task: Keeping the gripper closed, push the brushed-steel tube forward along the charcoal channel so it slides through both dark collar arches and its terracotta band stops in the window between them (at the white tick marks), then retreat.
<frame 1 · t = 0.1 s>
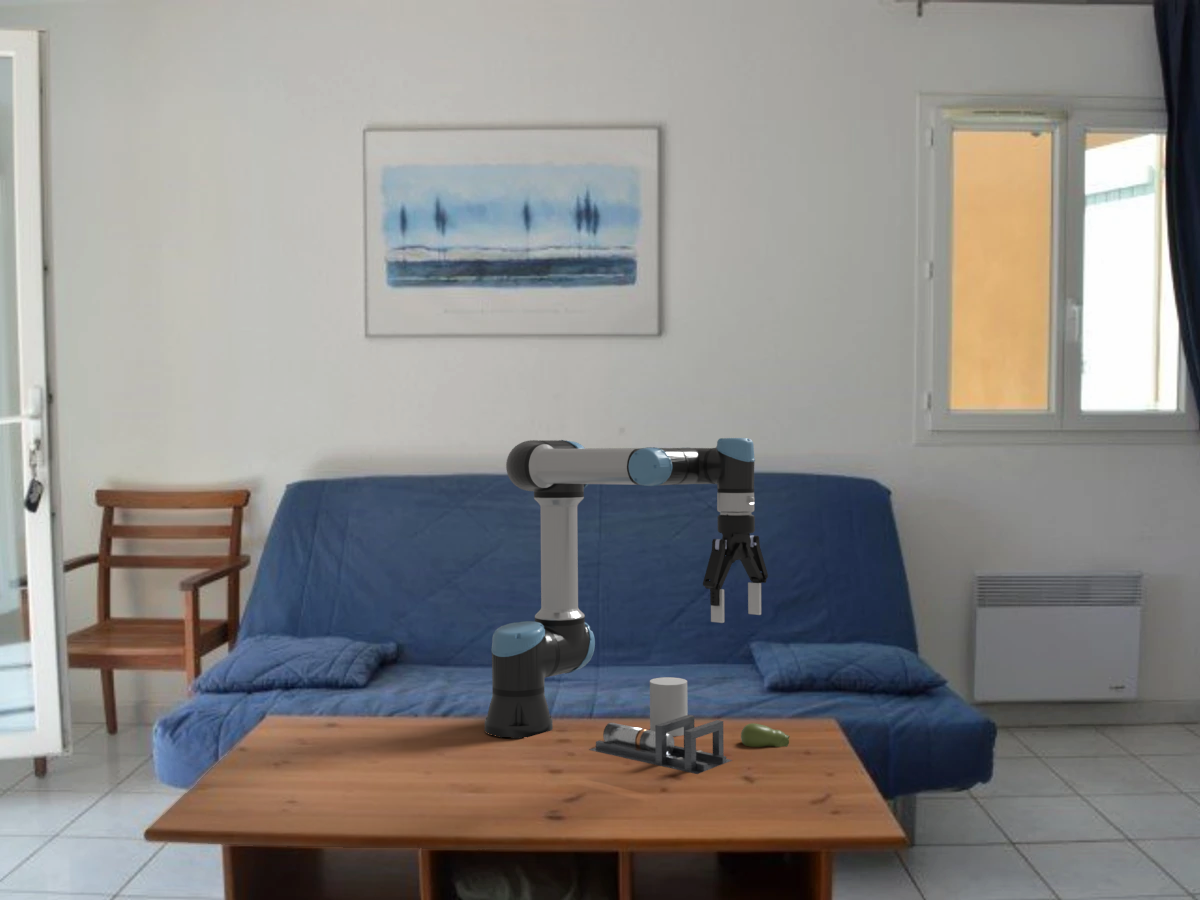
hand: (736, 618, 222), 28 cm above the table, fingers open, 13 cm apart
pear: (765, 750, 227), on the table
white cylinder: (668, 737, 238), on the table
tube: (637, 750, 223), point 1 cm above the table, touching collar rail
collar rail: (659, 759, 219), on the table
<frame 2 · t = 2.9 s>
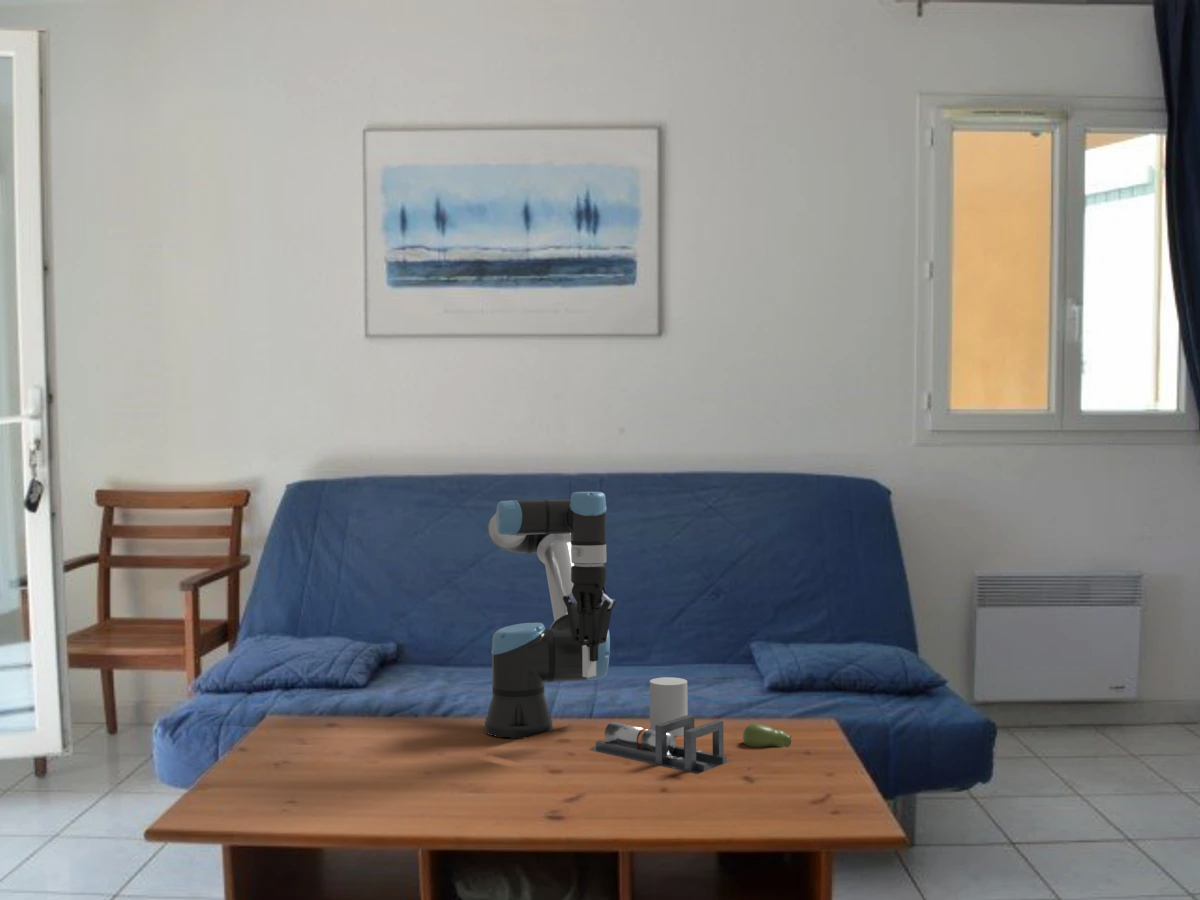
hand: (589, 676, 231), 15 cm above the table, fingers closed
tube: (637, 749, 223), point 1 cm above the table, tilted 17°, touching collar rail
everything else where it was.
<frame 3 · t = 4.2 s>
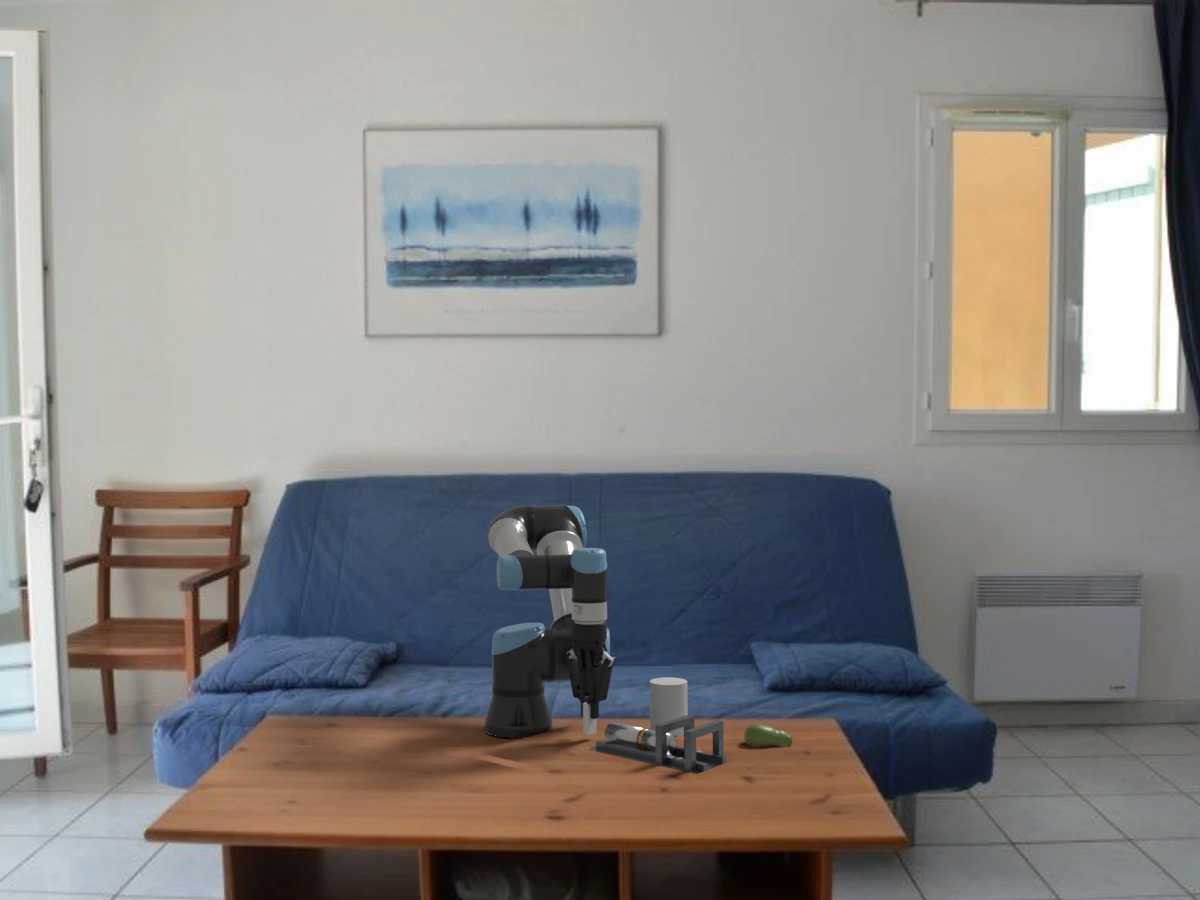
hand: (590, 733, 231), 2 cm above the table, fingers closed
nothing on the table moved.
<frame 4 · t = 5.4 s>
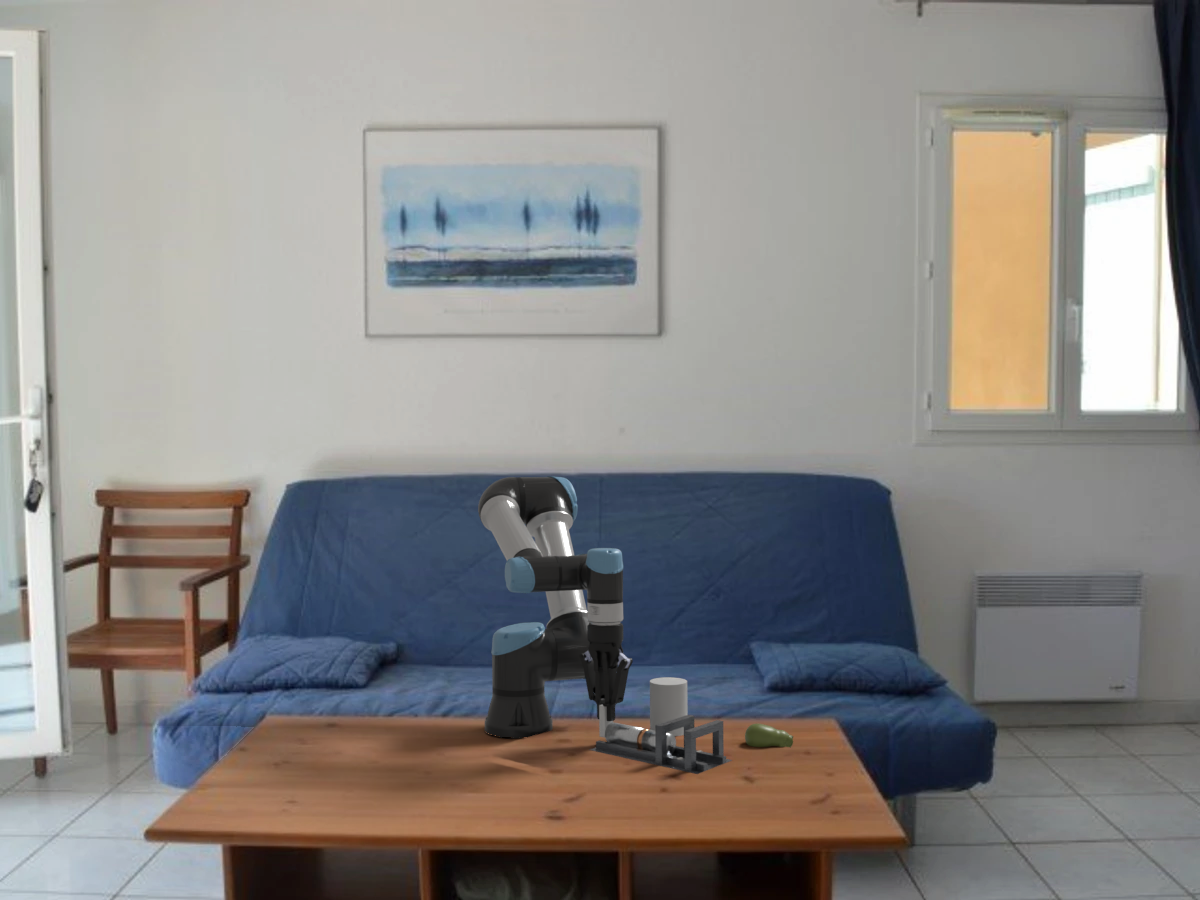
hand: (606, 735, 228), 3 cm above the table, fingers closed
tube: (638, 749, 223), point 1 cm above the table, tilted 16°, touching collar rail, gripper
everything else where it was.
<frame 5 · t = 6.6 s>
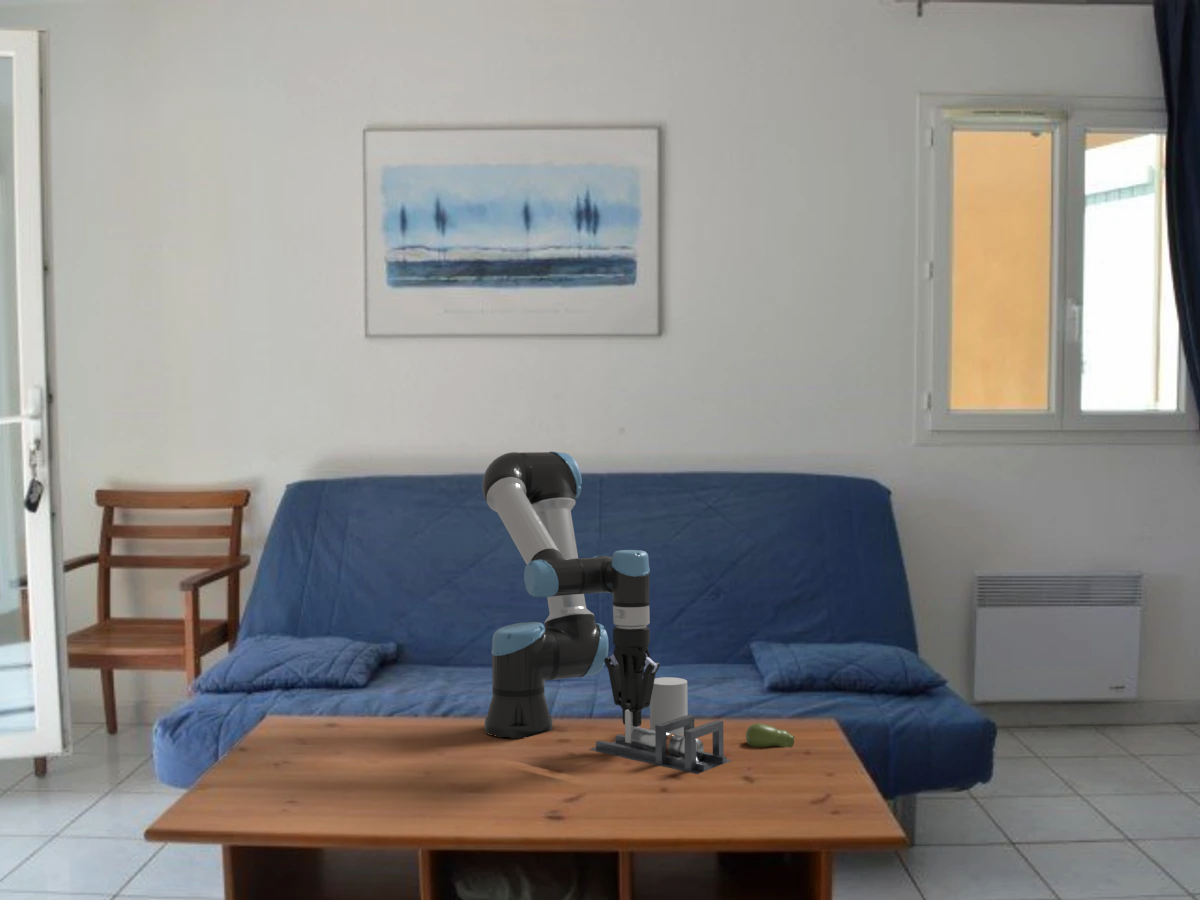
hand: (632, 741, 224), 3 cm above the table, fingers closed
tube: (664, 755, 218), point 1 cm above the table, tilted 16°, touching gripper
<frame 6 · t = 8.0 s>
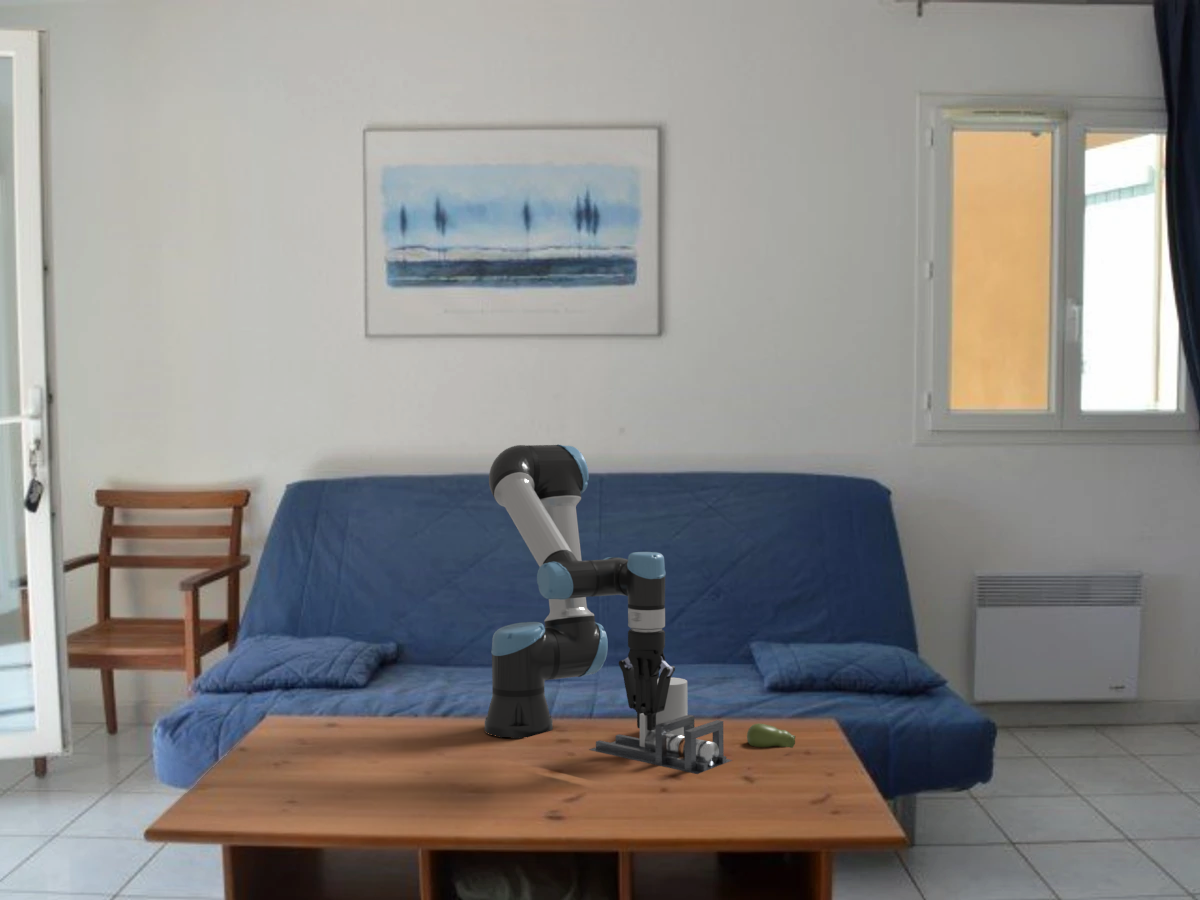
hand: (646, 745, 221), 2 cm above the table, fingers closed
tube: (679, 758, 216), point 1 cm above the table, tilted 15°, touching collar rail, gripper
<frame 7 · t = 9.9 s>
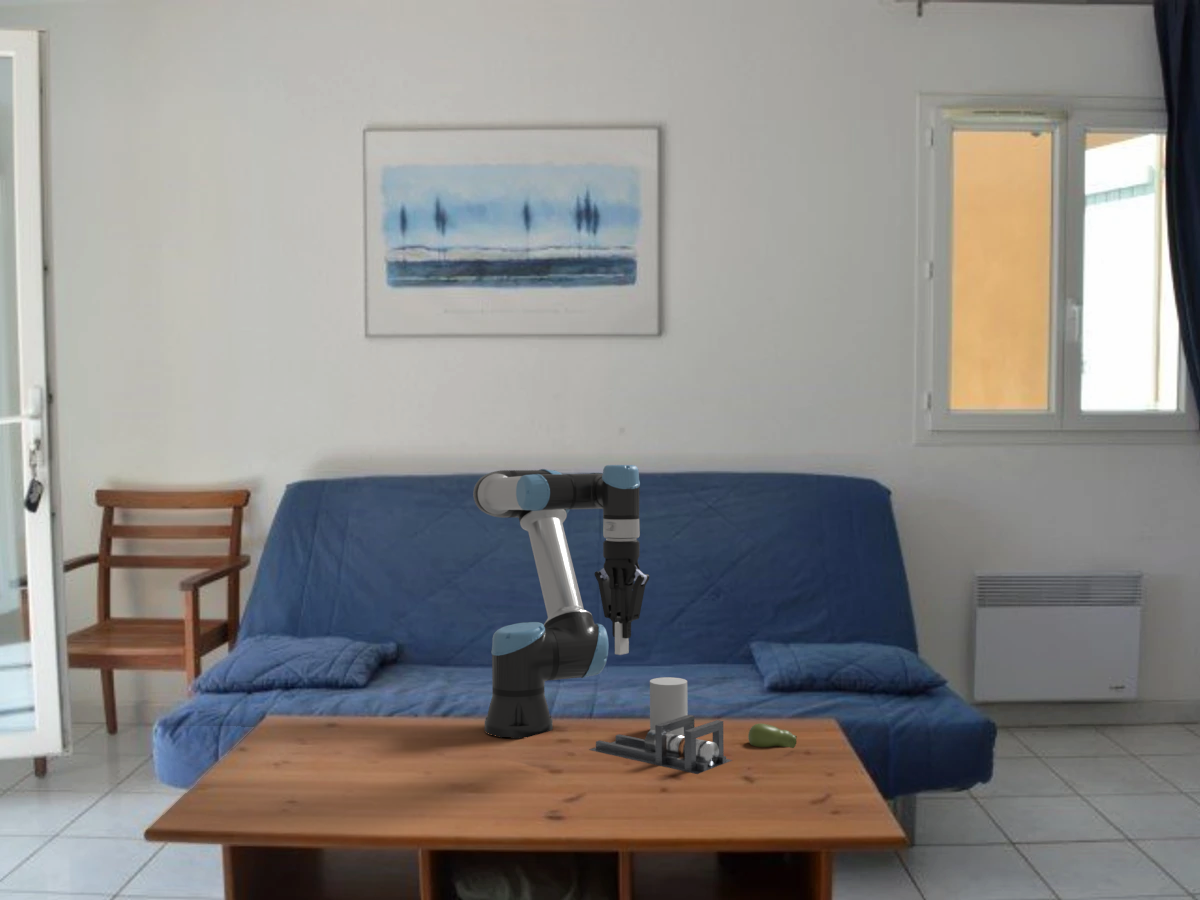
hand: (621, 653, 226), 20 cm above the table, fingers closed
tube: (679, 758, 216), point 1 cm above the table, tilted 15°, touching collar rail
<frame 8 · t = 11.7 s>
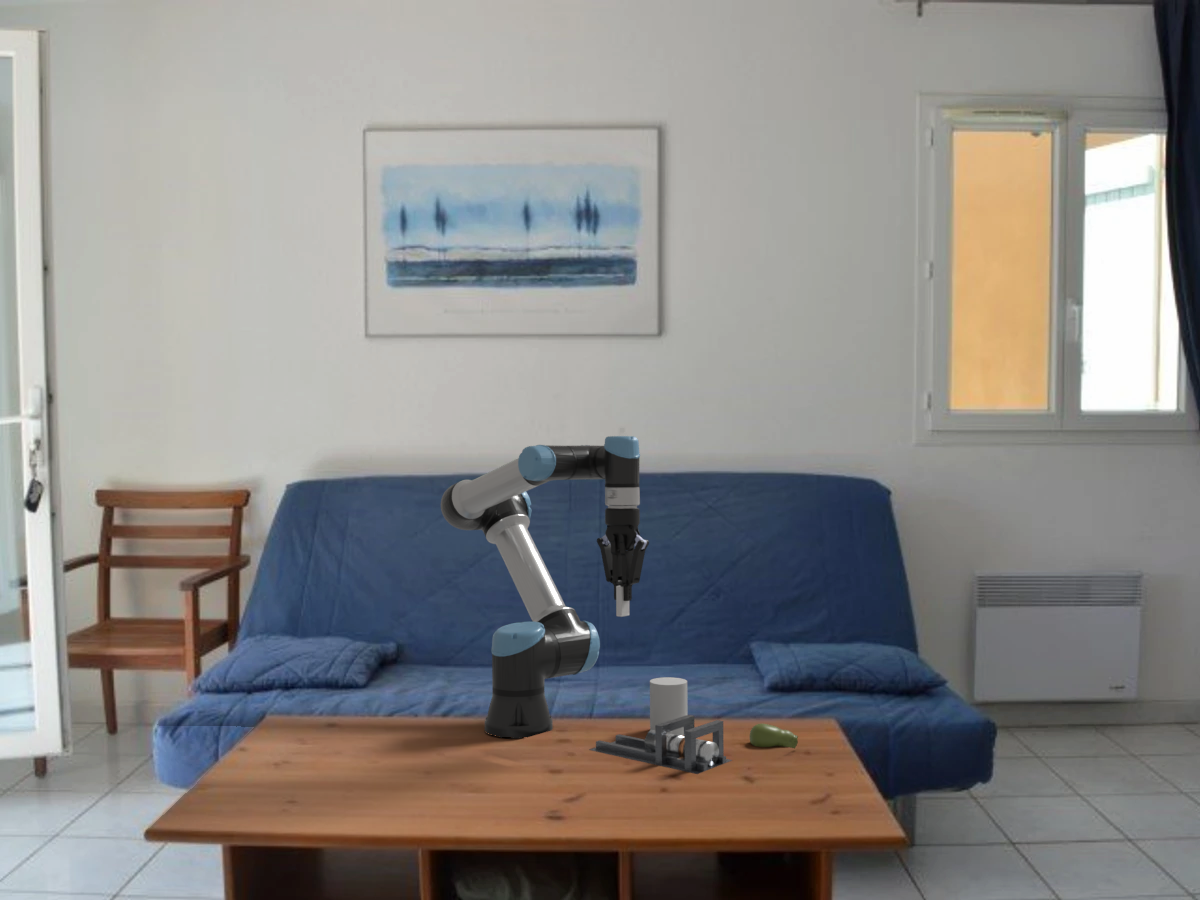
hand: (622, 615, 237), 26 cm above the table, fingers closed
at the end: tube 1.8 cm from the target spot on the collar rail, point 1.1 cm above the collar rail's base; tube moved 10.5 cm from its start; tube point 1.1 cm above the table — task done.
